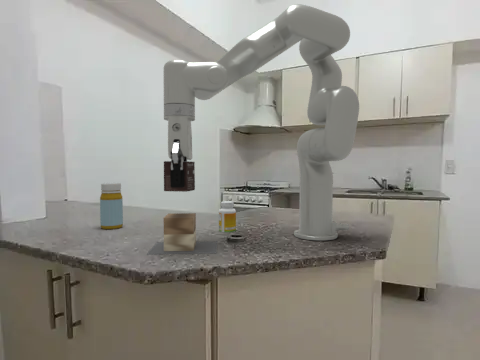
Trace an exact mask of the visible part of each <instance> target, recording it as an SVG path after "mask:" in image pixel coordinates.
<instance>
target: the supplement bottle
mask: <svg viewBox="0 0 480 360" xmlns="http://www.w3.org/2000/svg"><path fill="white" fill-rule="evenodd" d="M220 206H221V208H219V209H218V232H220V233H235V232H236V231H237V211H236V208H234V207H235V201H231V200H227V201H226V200H223V201H221V202H220Z"/></svg>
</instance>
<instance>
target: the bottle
mask: <svg viewBox="0 0 480 360" xmlns="http://www.w3.org/2000/svg"><path fill="white" fill-rule="evenodd" d="M121 189H122V184H121V182H107V183H105V182H104V183H101V184H100V190H101V191H100V192H101V194H100V197H99V208H100V209H99V218H100V219H99V220H100V223H99V224H100V228H101V229H102V230H117V229H121V228H122V227H123V226H124V216H123V215H124V210H123V208H124V207H123V200H124V199H123V195H122V190H121Z"/></svg>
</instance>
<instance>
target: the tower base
mask: <svg viewBox="0 0 480 360" xmlns="http://www.w3.org/2000/svg"><path fill="white" fill-rule="evenodd" d="M196 241H197V228H196V229H195V232H194V234H173V235H164V234H163V242H164V251H194V248H195V245H196Z"/></svg>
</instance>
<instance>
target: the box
mask: <svg viewBox="0 0 480 360" xmlns="http://www.w3.org/2000/svg"><path fill="white" fill-rule="evenodd" d="M180 164H181V163H180ZM195 165H196V163H195V161H190V160H189V161H188V160H187V161H184V164H183V170H184V177H185V186H184V187H183V188H172V187H171V182H170V170H171V161H169V160H167V161H166V160H164V161H163V192H179V193H180V192H183V193H184V192H192V191H195V190H196V181H195V180H196V179H195V178H196V175H195V174H196V172H195V171H196V170H195V169H196V167H195Z"/></svg>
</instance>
